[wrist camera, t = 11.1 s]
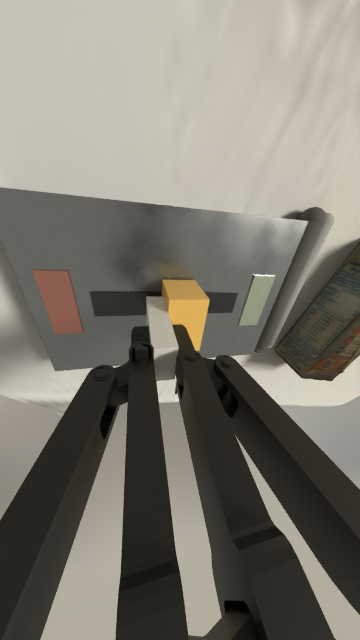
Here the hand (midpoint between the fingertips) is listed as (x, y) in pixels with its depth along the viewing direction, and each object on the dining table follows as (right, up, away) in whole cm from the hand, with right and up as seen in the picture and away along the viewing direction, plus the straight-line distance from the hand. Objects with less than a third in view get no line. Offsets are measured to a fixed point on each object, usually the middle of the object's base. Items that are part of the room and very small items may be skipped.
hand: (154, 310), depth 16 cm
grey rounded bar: (+14, +3, +7) cm, 16 cm away
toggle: (+2, +1, +2) cm, 3 cm away
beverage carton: (+25, +1, +11) cm, 27 cm away
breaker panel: (+1, +2, +4) cm, 5 cm away
